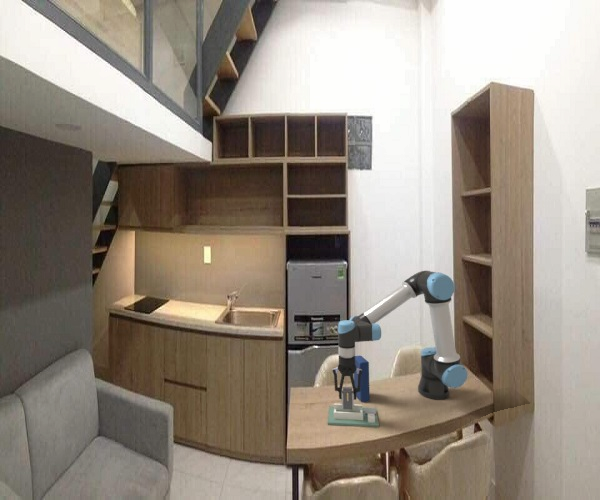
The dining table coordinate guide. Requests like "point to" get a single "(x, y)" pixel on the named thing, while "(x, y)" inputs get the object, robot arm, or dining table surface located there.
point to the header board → (353, 416)
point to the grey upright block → (347, 398)
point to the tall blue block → (362, 379)
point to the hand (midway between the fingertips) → (347, 405)
